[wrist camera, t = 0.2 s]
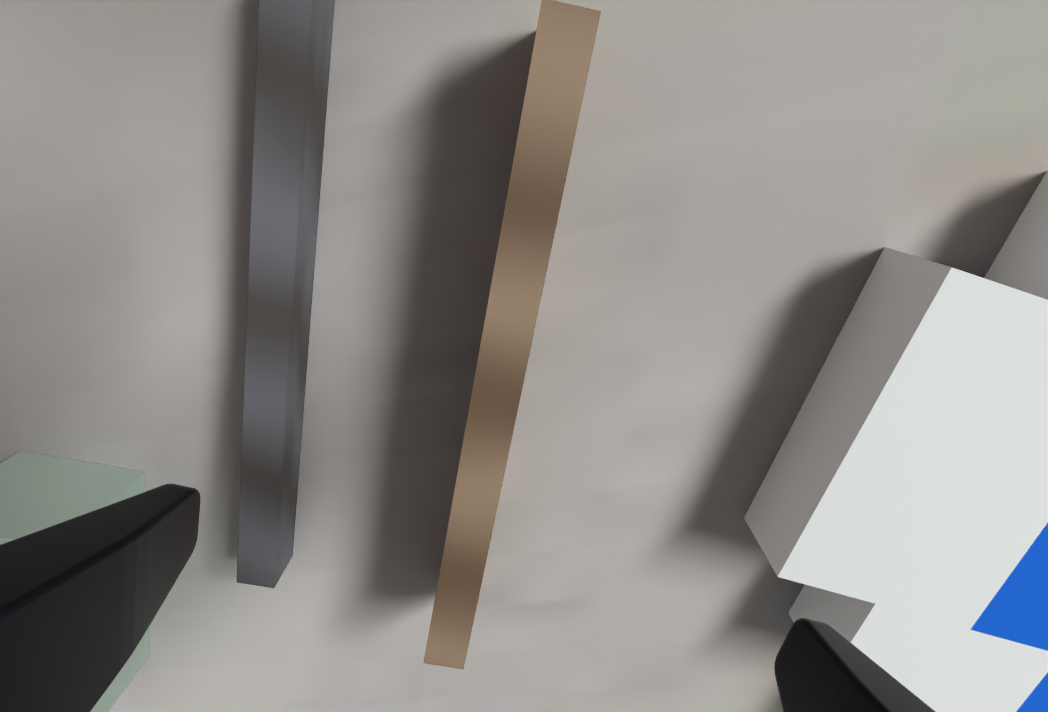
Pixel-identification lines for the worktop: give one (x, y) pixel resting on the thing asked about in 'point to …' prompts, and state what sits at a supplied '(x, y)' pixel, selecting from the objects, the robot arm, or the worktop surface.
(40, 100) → the worktop surface
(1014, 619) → the pixel art tile
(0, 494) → the mint block with post
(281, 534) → the brown and gray bars
